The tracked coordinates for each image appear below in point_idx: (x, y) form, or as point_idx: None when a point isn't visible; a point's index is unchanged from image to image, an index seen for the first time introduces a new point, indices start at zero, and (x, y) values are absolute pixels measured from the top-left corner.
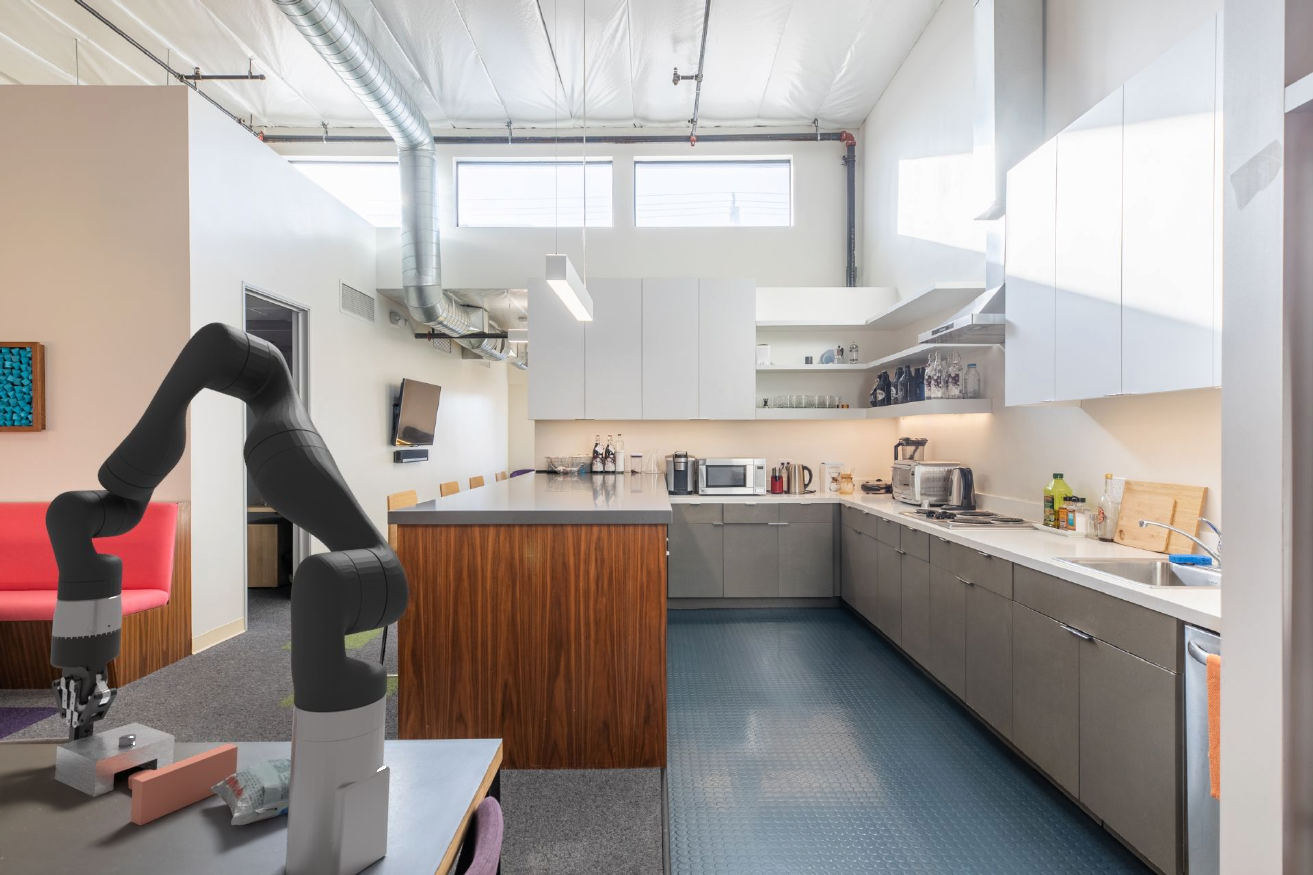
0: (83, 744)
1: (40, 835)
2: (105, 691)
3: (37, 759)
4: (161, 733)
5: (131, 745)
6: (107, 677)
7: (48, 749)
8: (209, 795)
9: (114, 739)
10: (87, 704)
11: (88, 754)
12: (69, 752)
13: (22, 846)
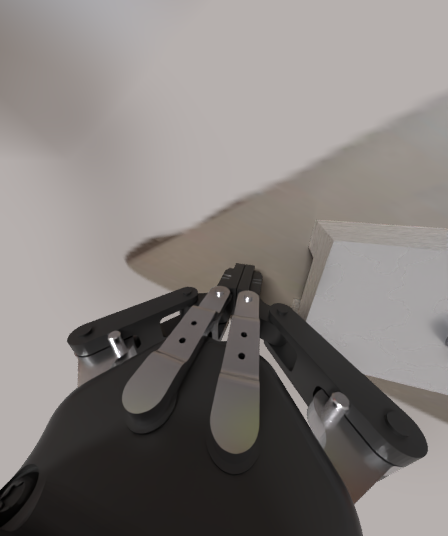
0: (340, 349)
1: (438, 400)
2: (396, 469)
3: (199, 285)
4: None
5: None
6: (356, 518)
7: (172, 262)
8: None
9: (394, 326)
10: (304, 397)
11: (408, 379)
12: None
13: (438, 413)
